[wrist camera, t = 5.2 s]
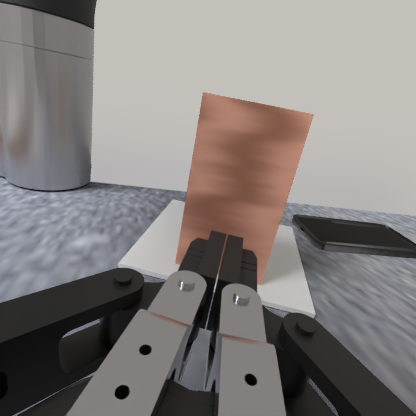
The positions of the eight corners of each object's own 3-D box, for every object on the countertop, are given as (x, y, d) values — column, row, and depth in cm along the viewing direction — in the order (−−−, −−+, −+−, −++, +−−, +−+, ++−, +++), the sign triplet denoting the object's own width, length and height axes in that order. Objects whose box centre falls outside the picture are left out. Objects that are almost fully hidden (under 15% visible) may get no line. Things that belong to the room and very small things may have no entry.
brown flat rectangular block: (175, 263, 23) (202, 92, 18) (182, 248, 25) (209, 93, 20) (260, 284, 22) (313, 114, 17) (260, 268, 24) (307, 113, 19)
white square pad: (118, 267, 22) (118, 263, 21) (172, 202, 35) (172, 199, 35) (313, 318, 20) (315, 314, 20) (290, 230, 34) (291, 227, 34)
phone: (432, 254, 33) (320, 243, 30) (427, 262, 34) (317, 252, 31) (385, 224, 41) (290, 212, 37) (381, 231, 41) (287, 220, 38)
